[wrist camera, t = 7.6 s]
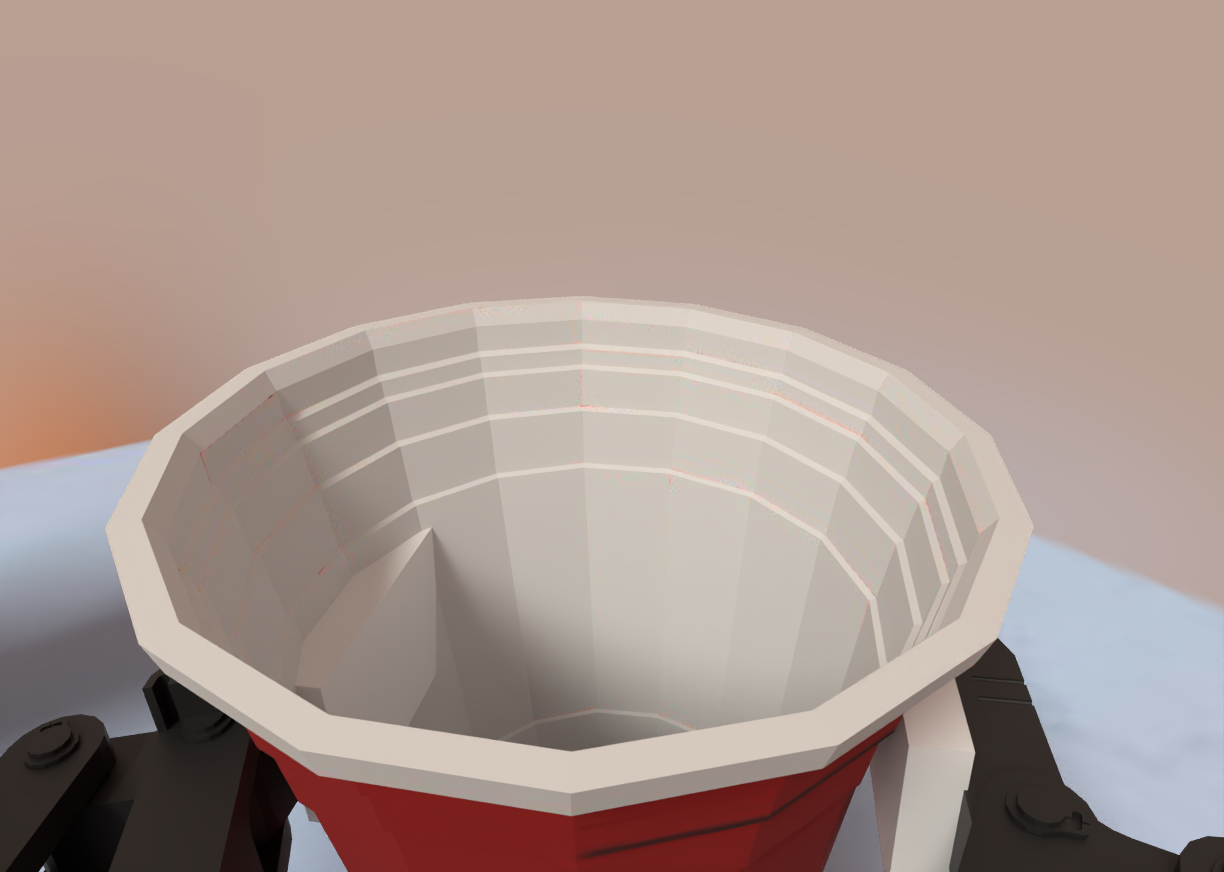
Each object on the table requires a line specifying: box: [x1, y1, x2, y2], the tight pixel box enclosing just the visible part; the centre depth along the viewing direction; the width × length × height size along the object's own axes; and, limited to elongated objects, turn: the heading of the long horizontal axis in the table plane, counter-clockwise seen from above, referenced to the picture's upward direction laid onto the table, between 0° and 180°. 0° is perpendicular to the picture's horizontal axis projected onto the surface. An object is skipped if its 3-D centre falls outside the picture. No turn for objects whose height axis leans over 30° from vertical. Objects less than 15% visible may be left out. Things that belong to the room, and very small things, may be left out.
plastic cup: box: [105, 296, 1034, 872], centre depth 13 cm, size 11×11×12 cm
